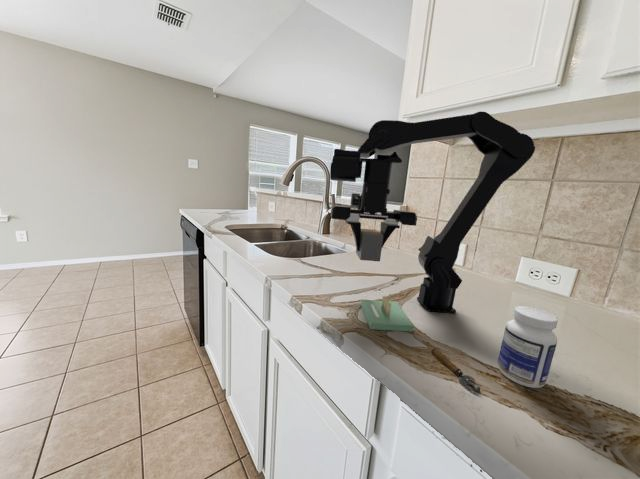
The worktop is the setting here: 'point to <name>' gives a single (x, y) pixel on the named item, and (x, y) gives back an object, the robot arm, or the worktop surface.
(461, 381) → the can opener
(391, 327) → the board
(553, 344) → the pill bottle
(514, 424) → the worktop surface
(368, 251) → the block
